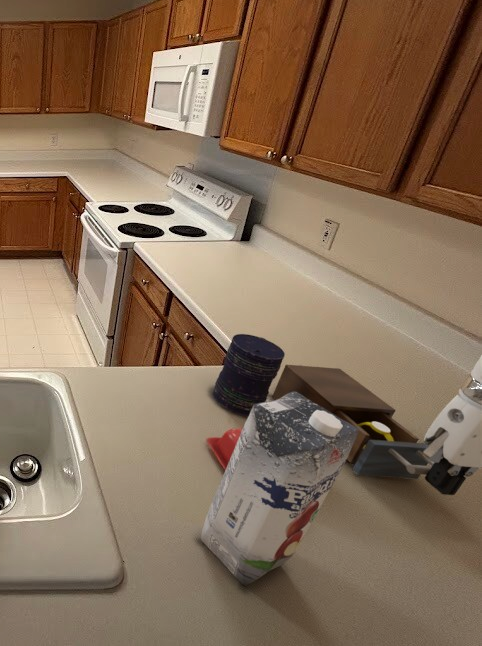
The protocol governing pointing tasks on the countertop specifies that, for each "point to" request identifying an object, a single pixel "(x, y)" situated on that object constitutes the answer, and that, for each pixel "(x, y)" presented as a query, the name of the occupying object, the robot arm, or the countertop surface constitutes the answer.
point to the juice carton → (275, 484)
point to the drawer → (384, 447)
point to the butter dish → (224, 445)
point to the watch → (379, 429)
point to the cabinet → (329, 389)
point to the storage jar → (247, 373)
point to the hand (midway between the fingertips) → (438, 487)
